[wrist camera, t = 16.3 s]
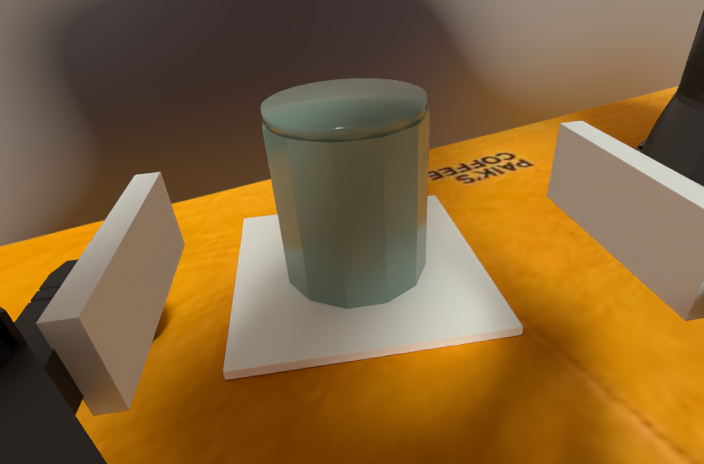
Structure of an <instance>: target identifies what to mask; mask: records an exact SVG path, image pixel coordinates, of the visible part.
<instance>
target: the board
mask: <svg viewBox="0 0 704 464" xmlns="http://www.w3.org/2000/svg"><path fill="white" fill-rule="evenodd" d="M522 331H523V326H522V324H521V323H520V321H519V320H518V318H517V317H516V315H515V314H514V312H513V311H512V309H511V308H510V306H509V305H508V303H507V302H506V300H505V299H504V297H503V296H502V294H501V293H500V291H499V290H498V288H497V287H496V285H495V284H494V282H493V281H492V279H491V278H490V276H489V275H488V273H487V272H486V270H485V269H484V267H483V266H482V264H481V263H480V261H479V260H478V258H477V257H476V255H475V254H474V252H473V251H472V249H471V248H470V246H469V245H468V243H467V242H466V240H465V239H464V237H463V236H462V234H461V233H460V231H459V230H458V228H457V227H456V225H455V224H454V222H453V221H452V219H451V218H450V216H449V215H448V213H447V212H446V210H445V209H444V207H443V206H442V204H441V203H440V201H439V200H438V198H437V197H436V195H432V196H428V198H427V233H426V264H425V266H424V269H423V271H422V273H421V276H420V278H419V280H418V282H417V285H416V286H415V287H413V288H411V289H410V290H408V291H406V292H405V293H403V294H401V295H400V296H398V297H396V298H395V299H393V300H391V301H390V302H388V303H384V304H377V305H370V306H363V307H356V308H349V309H345V308H341V307H336V306H332V305H327V304H323V303H318V302H314V301H310V300H309V299H308V298H307V297H305V296H304V295H303V294H302V293H301V292H300V291H299V290H298V289H296V288H295V287H294V286H293V285H292V284H291V283H290V282H289V277H288V271H287V265H286V260H285V254H284V248H283V242H282V237H281V231H280V225H279V220H278V215H270V216H261V217H253V218H245V219H244V225H243V232H242V239H241V246H240V253H239V260H238V268H237V275H236V282H235V289H234V296H233V303H232V310H231V317H230V325H229V332H228V339H227V346H226V353H225V360H224V367H223V374H224V377H225V380H229V379H236V378H242V377H249V376H255V375H262V374H268V373H275V372H282V371H288V370H295V369H301V368H308V367H314V366H321V365H327V364H334V363H341V362H347V361H354V360H360V359H367V358H373V357H380V356H386V355H393V354H400V353H406V352H413V351H419V350H426V349H432V348H439V347H445V346H452V345H458V344H465V343H472V342H478V341H485V340H491V339H498V338H504V337H511V336H517V335H522Z"/></svg>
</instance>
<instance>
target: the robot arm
mask: <svg viewBox="0 0 704 464" xmlns="http://www.w3.org/2000/svg"><path fill="white" fill-rule="evenodd" d="M547 197H548V198H550V199H551V200H552V201H553V202H554V203H555V204H556V205H557V206H558V207H560V208H561V209H562V210H563V211H564V212H565V213H566V214H567V215H568V216H570V217H571V218H572V219H573V220H574V221H575V222H576V223H577V224H578V225H580V226H581V227H582V228H583V229H584V230H585V231H586V232H587V233H588V234H590V235H591V236H592V237H593V238H594V239H595V240H596V241H597V242H598V243H600V244H601V245H602V246H603V247H604V248H605V249H606V250H607V251H608V252H609V253H611V254H612V255H613V256H614V257H615V258H616V259H617V260H618V261H619V262H621V263H622V264H623V265H624V266H625V267H626V268H627V269H628V270H629V271H631V272H632V273H633V274H634V275H635V276H636V277H637V278H638V279H639V280H641V281H642V282H643V283H644V284H645V285H646V286H647V287H648V288H649V289H651V290H652V291H653V292H654V293H655V294H656V295H657V296H658V297H659V298H661V299H662V300H663V301H664V302H665V303H666V304H667V305H668V306H669V307H671V308H672V309H673V310H674V311H675V312H676V313H677V314H678V315H679V316H681V317H682V318H683V319H684V320H685V321H688V320H695V319H701V318H704V11H703V14H702V17H701V20H700V23H699V26H698V29H697V32H696V35H695V38H694V41H693V44H692V47H691V50H690V53H689V56H688V60H687V63H686V66H685V69H684V73H683V75H682V79H681V82H680V84H679V87H678V89H677V91H676V93H675V94H674V96H673V97H672V99H671V100H670V102H669V103H668V105H667V106H666V108H665V109H664V111H663V112H662V114H661V115H660V117H659V118H658V120H657V121H656V123H655V125H654V126H653V128H652V130H651V132H650V134H649V136H648V138H647V139H646V140H644V141H643V142H641V143H640V144H639V145H638V147H637V148H636V149H633V148H631V147H629V146H628V145H626V144H624V143H622V142H620V141H618V140H617V139H615V138H613V137H611V136H609V135H607V134H605V133H604V132H602V131H600V130H598V129H596V128H594V127H593V126H591V125H589V124H587V123H585V122H583V121H575V122H567V123H560V128H559V133H558V139H557V144H556V149H555V155H554V160H553V166H552V171H551V177H550V182H549V188H548V193H547ZM184 245H185V244H184V241H183V238H182V235H181V232H180V229H179V226H178V223H177V220H176V217H175V214H174V211H173V208H172V205H171V202H170V199H169V197H168V193H167V190H166V187H165V184H164V181H163V178H162V175H161V172H156V173H149V174H140V175H135V176H134V178H133V179H132V181H131V182H130V184H129V185H128V187H127V188H126V190H125V191H124V193H123V194H122V196H121V197H120V199H119V200H118V202H117V203H116V205H115V206H114V208H113V209H112V211H111V212H110V214H109V215H108V217H107V218H106V220H105V221H104V223H103V224H102V225H101V227H100V228H99V230H98V231H97V233H96V234H95V236H94V237H93V239H92V240H91V242H90V243H89V245H88V246H87V248H86V249H85V251H84V252H83V254H82V255H81V257H80V258H79V259H78V260H71V261H66V262H65V263H64V264H62V265H61V266H60V267H59V268H57V269H56V270H55V271H53V272H52V273H51V274H50V275H49V276H48V277H47V279H46V280H45V281H44V283H43V284H42V285H41V287H40V288H39V289H40V291H37V292H36V294H35V295H34V296H33V298H32V299H31V303H28V305H27V306H26V307H25V309H24V310H23V311H22V313H21V314H20V316H19V317H18V318H17V320H16V321H15V322H13V321H12V319H11V318H10V316H9V315H8V313H7V312H6V310H4V309H3V308H1V307H0V464H107V463H106V461H105V460H104V458H103V457H102V455H101V454H100V452H99V451H98V449H97V448H96V446H95V445H94V443H93V442H92V440H91V439H90V437H89V436H88V434H87V433H86V431H85V430H84V428H83V427H82V425H81V424H80V422H79V420H78V419H77V417H76V416H75V415H76V412H77V410H78V408H79V406H80V404H81V401H82V399H83V400H84V401H85V403H86V405H87V406H88V408H89V410H90V411H91V413H92V414H93V416H94V415H101V414H107V413H113V412H119V411H126V410H129V409H130V406H131V403H132V400H133V397H134V394H135V391H136V388H137V385H138V382H139V379H140V376H141V374H142V371H143V368H144V365H145V362H146V359H147V356H148V353H149V350H150V347H151V344H152V341H153V338H154V335H155V332H156V329H157V326H158V323H159V320H160V317H161V314H162V311H163V308H164V305H165V302H166V299H167V296H168V293H169V290H170V287H171V284H172V281H173V278H174V275H175V272H176V269H177V266H178V263H179V260H180V257H181V254H182V251H183V248H184Z"/></svg>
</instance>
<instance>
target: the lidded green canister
mask: <svg viewBox="0 0 704 464" xmlns="http://www.w3.org/2000/svg"><path fill="white" fill-rule="evenodd" d="M261 113H262V119H263V128H262V129H263V134H264V140H265V146H266V151H267V157H268V162H269V168H270V174H271V180H272V186H273V191H274V197H275V203H276V208H277V214H278V220H279V225H280V231H281V237H282V242H283V248H284V254H285V260H286V265H287V271H288V277H289V282H290V283H291V284H292V285H293V286H294V287H295V288H296V289H298V290H299V291H300V292H301V293H302V294H303V295H304V296H305V297H307V298H308V299H309V300H310V301H314V302H318V303H323V304H327V305H332V306H336V307H341V308H345V309H349V308H356V307H363V306H370V305H377V304H384V303H388V302H390V301H391V300H393V299H395V298H396V297H398V296H400V295H401V294H403V293H405V292H406V291H408V290H410V289H411V288H413V287H415V286H416V285H417V282H418V280H419V278H420V276H421V273H422V271H423V269H424V266H425V264H426V233H427V198H428V163H429V128H430V110H429V109H428V108H427V93H426V92H425V91H424V90H423V89H422V88H420V87H418V86H416V85H413V84H410V83H406V82H401V81H395V80H387V79H365V78H362V79H341V80H331V81H323V82H316V83H310V84H306V85H301V86H297V87H293V88H290V89H287V90H284V91H281V92H279V93H276V94H274V95H272V96H270V97H269V98H267V99H266V100H265V101H264V102H263V103H262V105H261Z"/></svg>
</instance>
